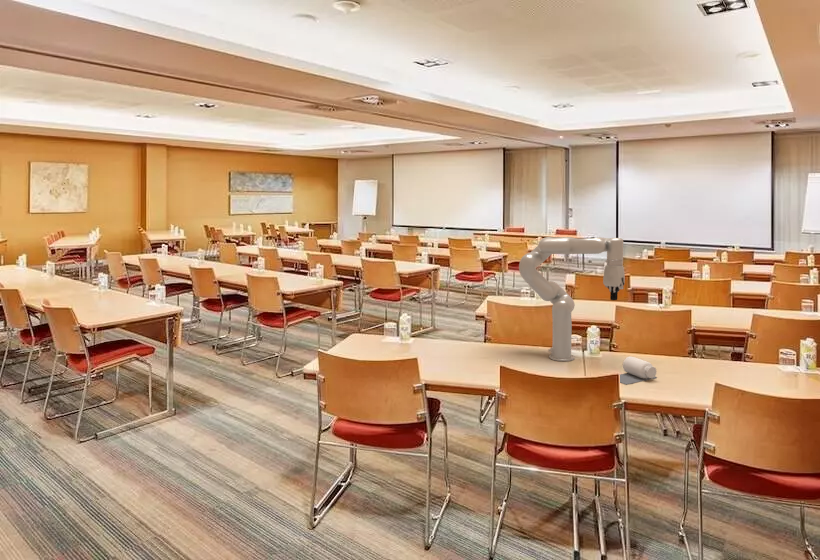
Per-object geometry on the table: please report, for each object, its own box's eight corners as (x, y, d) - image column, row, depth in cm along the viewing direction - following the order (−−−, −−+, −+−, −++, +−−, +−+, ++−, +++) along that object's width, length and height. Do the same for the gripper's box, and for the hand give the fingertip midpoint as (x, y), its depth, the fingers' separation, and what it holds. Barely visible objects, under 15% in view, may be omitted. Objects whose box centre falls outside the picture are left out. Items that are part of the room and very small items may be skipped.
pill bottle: (619, 368, 275) (642, 377, 261) (626, 353, 275) (650, 360, 261) (630, 375, 278) (654, 383, 264) (638, 360, 278) (662, 367, 264)
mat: (605, 378, 270) (605, 377, 269) (635, 371, 279) (635, 371, 279) (626, 384, 259) (626, 384, 259) (657, 377, 269) (657, 377, 269)
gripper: (597, 262, 294) (596, 298, 296) (621, 264, 281) (620, 302, 283) (608, 261, 297) (607, 297, 300) (632, 263, 284) (631, 301, 287)
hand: (613, 299), depth 291 cm, fingers closed
